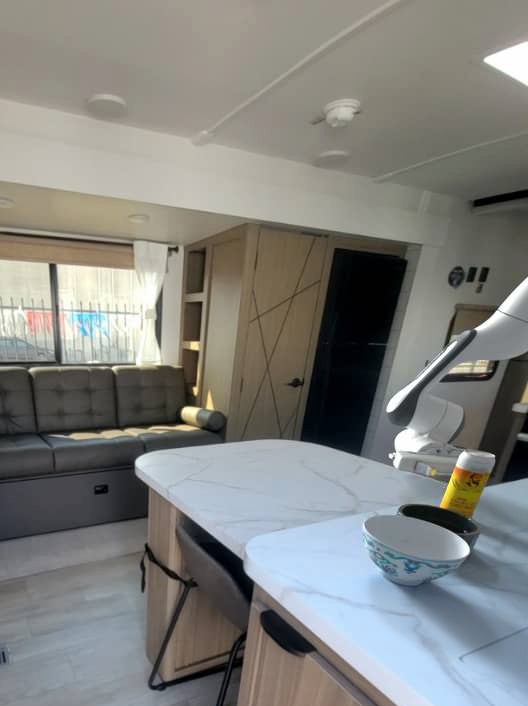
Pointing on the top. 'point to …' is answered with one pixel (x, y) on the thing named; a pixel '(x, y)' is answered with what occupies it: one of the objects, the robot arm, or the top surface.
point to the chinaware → (412, 548)
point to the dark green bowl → (444, 520)
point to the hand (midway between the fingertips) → (454, 474)
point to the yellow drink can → (468, 481)
